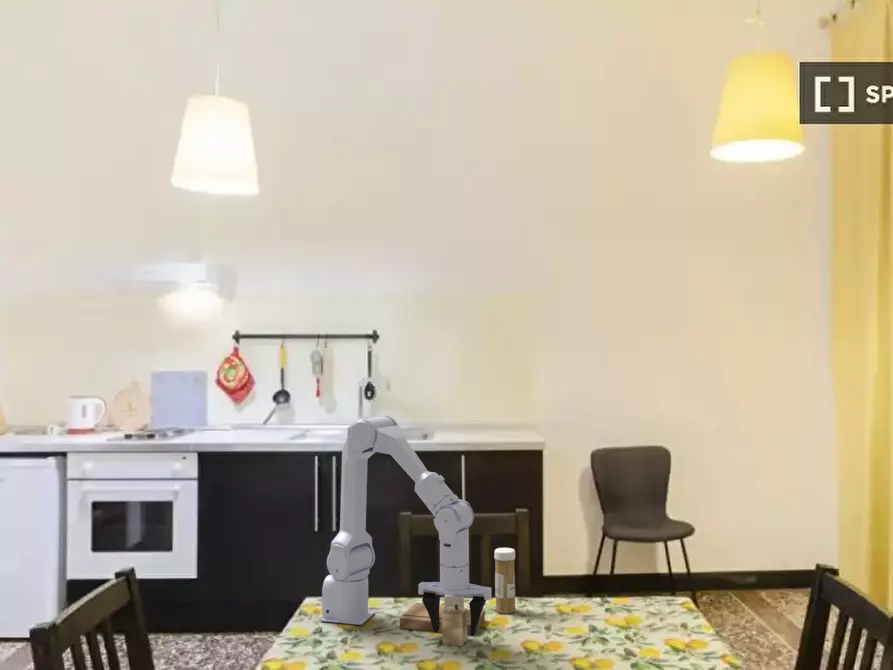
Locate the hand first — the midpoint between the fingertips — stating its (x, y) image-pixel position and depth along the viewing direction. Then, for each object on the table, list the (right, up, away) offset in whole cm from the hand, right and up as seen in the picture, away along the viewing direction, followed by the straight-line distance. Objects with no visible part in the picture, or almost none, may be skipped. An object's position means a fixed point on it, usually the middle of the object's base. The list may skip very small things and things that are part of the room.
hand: (454, 632), depth 157 cm
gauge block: (0, -2, 0) cm, 2 cm away
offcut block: (0, 0, +11) cm, 11 cm away
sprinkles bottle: (+11, -2, +18) cm, 21 cm away
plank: (-3, -2, +10) cm, 10 cm away
